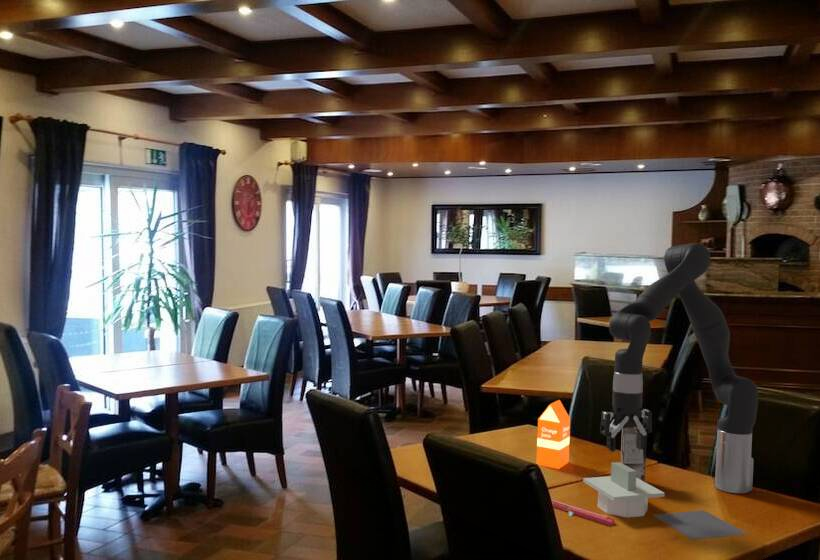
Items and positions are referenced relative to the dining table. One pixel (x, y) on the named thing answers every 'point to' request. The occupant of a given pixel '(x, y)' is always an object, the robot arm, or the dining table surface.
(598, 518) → the red piece
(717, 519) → the mat
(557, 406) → the orange juice
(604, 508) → the bowl
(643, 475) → the coffee box
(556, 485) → the dining table surface
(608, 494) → the cover
